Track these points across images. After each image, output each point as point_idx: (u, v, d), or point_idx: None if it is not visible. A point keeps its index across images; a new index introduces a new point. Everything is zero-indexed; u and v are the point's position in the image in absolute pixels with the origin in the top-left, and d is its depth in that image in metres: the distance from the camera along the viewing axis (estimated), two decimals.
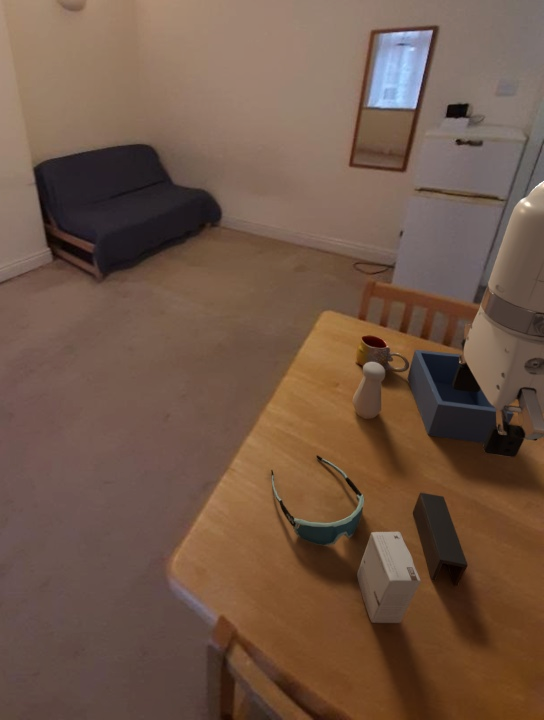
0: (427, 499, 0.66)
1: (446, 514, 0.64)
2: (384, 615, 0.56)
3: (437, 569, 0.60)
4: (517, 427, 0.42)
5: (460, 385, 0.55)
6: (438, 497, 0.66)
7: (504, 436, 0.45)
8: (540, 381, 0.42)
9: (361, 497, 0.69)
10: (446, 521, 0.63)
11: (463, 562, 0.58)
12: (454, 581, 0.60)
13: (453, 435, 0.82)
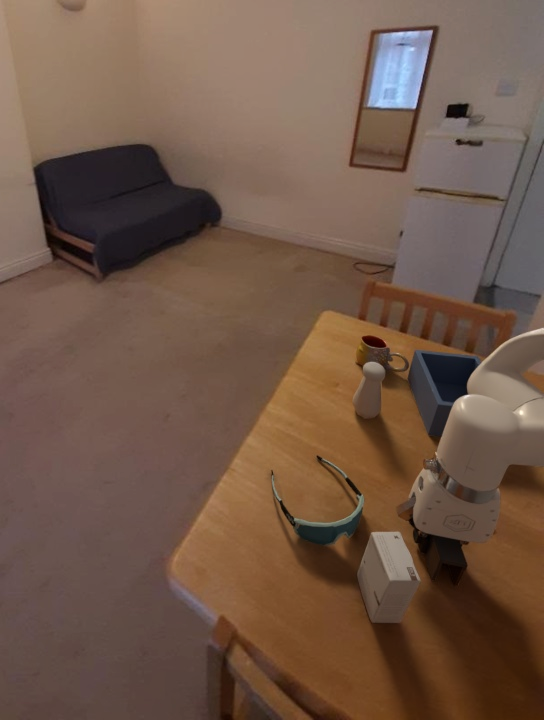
0: None
1: None
2: (384, 615, 0.56)
3: (437, 569, 0.60)
4: None
5: None
6: None
7: None
8: (418, 496, 0.60)
9: (361, 497, 0.69)
10: None
11: (463, 562, 0.58)
12: (454, 581, 0.60)
13: None
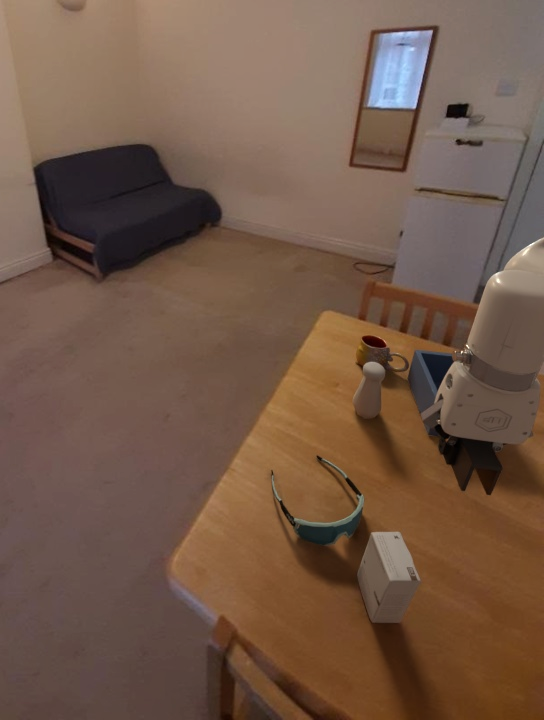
0: None
1: None
2: (384, 615, 0.56)
3: (468, 476, 0.54)
4: (438, 418, 0.58)
5: None
6: None
7: None
8: (446, 395, 0.54)
9: (361, 497, 0.69)
10: None
11: (498, 465, 0.52)
12: (487, 490, 0.55)
13: None
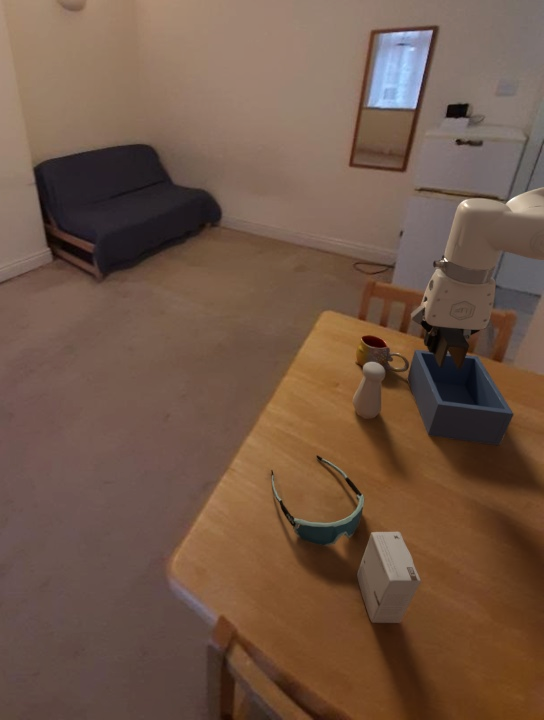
0: None
1: None
2: (384, 615, 0.56)
3: (444, 354, 0.74)
4: None
5: None
6: None
7: None
8: (429, 295, 0.74)
9: (361, 497, 0.69)
10: None
11: (466, 344, 0.72)
12: (458, 366, 0.74)
13: (453, 435, 0.82)
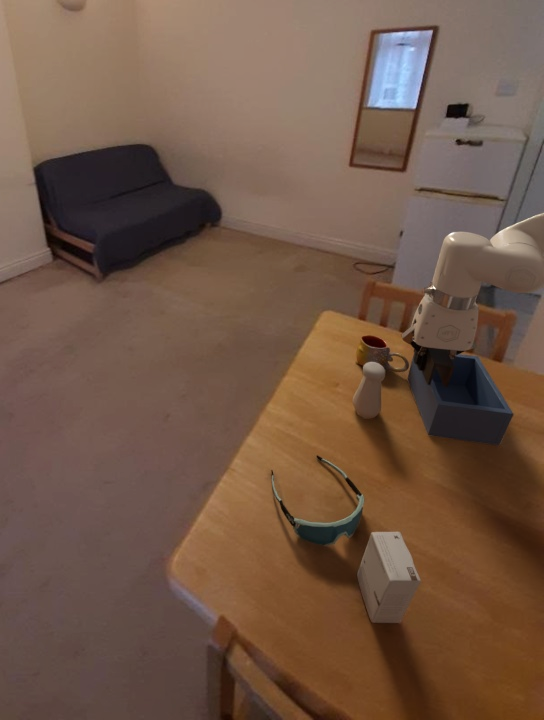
0: None
1: None
2: (384, 615, 0.56)
3: (432, 372, 0.80)
4: (413, 338, 0.84)
5: None
6: None
7: None
8: (418, 318, 0.80)
9: (361, 497, 0.69)
10: None
11: (451, 364, 0.78)
12: (444, 383, 0.81)
13: (453, 435, 0.82)
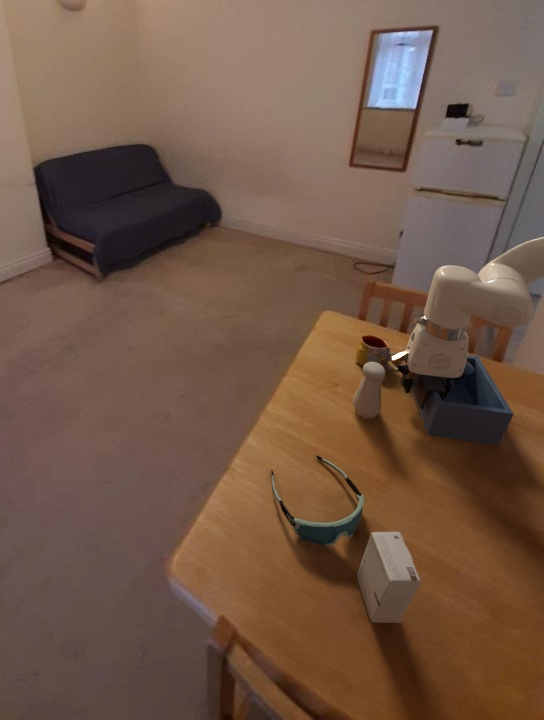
0: None
1: None
2: (384, 615, 0.56)
3: (424, 397, 0.83)
4: (400, 362, 0.87)
5: None
6: None
7: None
8: (411, 346, 0.83)
9: (361, 497, 0.69)
10: None
11: (443, 389, 0.81)
12: None
13: (453, 435, 0.82)
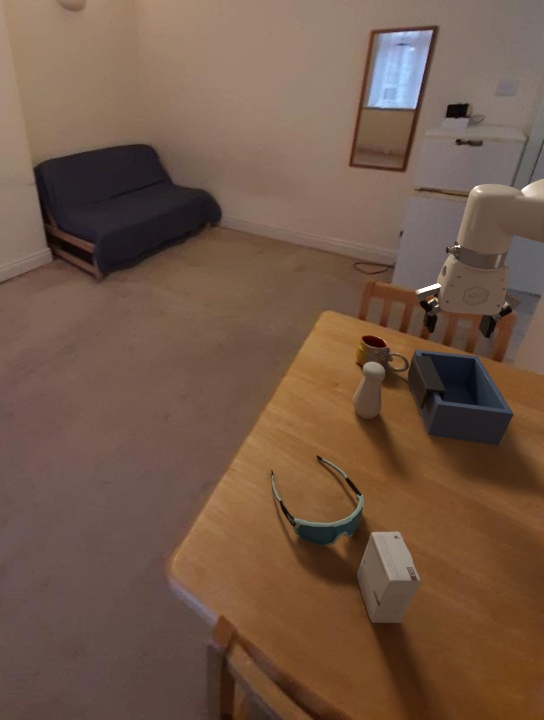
0: (418, 358, 0.90)
1: (431, 366, 0.87)
2: (384, 615, 0.56)
3: (424, 397, 0.83)
4: None
5: (480, 326, 0.78)
6: (426, 357, 0.90)
7: None
8: (442, 281, 0.74)
9: (361, 497, 0.69)
10: (431, 369, 0.86)
11: (443, 389, 0.81)
12: None
13: (453, 435, 0.82)
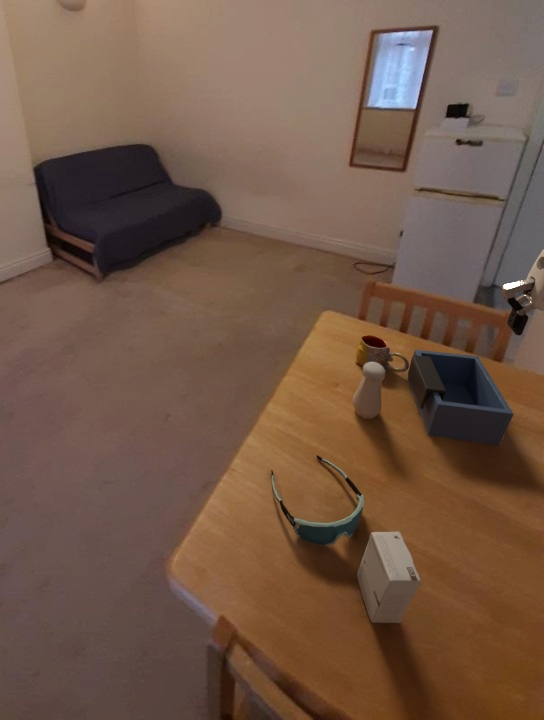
0: (418, 358, 0.90)
1: (431, 366, 0.87)
2: (384, 615, 0.56)
3: (424, 397, 0.83)
4: None
5: None
6: (426, 357, 0.90)
7: (512, 308, 0.68)
8: (538, 274, 0.64)
9: (361, 497, 0.69)
10: (431, 369, 0.86)
11: (443, 389, 0.81)
12: None
13: (453, 435, 0.82)
